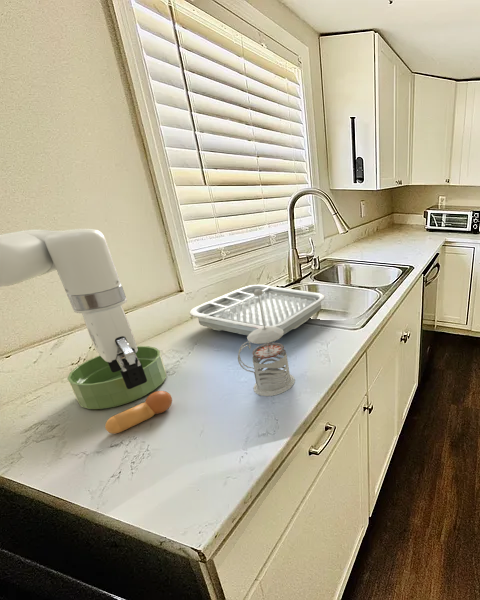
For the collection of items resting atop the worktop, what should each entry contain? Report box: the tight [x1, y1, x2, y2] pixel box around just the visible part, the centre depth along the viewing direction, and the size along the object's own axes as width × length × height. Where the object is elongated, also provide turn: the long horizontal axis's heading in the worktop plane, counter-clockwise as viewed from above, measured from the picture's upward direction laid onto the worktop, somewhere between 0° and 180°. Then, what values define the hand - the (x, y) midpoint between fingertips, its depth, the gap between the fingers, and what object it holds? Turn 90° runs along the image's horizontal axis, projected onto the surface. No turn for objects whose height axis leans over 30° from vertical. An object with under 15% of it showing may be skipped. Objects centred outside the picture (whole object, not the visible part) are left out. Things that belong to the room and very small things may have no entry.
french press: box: [237, 289, 296, 397], centre depth 76 cm, size 10×12×25 cm
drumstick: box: [104, 390, 173, 434], centre depth 69 cm, size 12×5×5 cm, turn 143°
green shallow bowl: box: [66, 345, 167, 410], centre depth 79 cm, size 17×17×7 cm
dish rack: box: [189, 284, 326, 336], centre depth 114 cm, size 32×37×8 cm
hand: (129, 376), depth 66 cm, fingers open, 9 cm apart
